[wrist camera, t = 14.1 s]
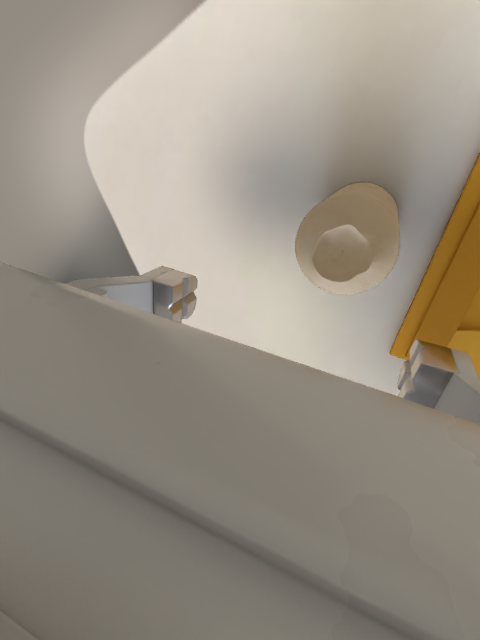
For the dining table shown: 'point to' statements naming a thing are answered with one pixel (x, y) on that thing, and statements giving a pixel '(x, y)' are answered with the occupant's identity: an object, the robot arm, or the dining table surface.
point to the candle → (350, 239)
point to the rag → (450, 285)
